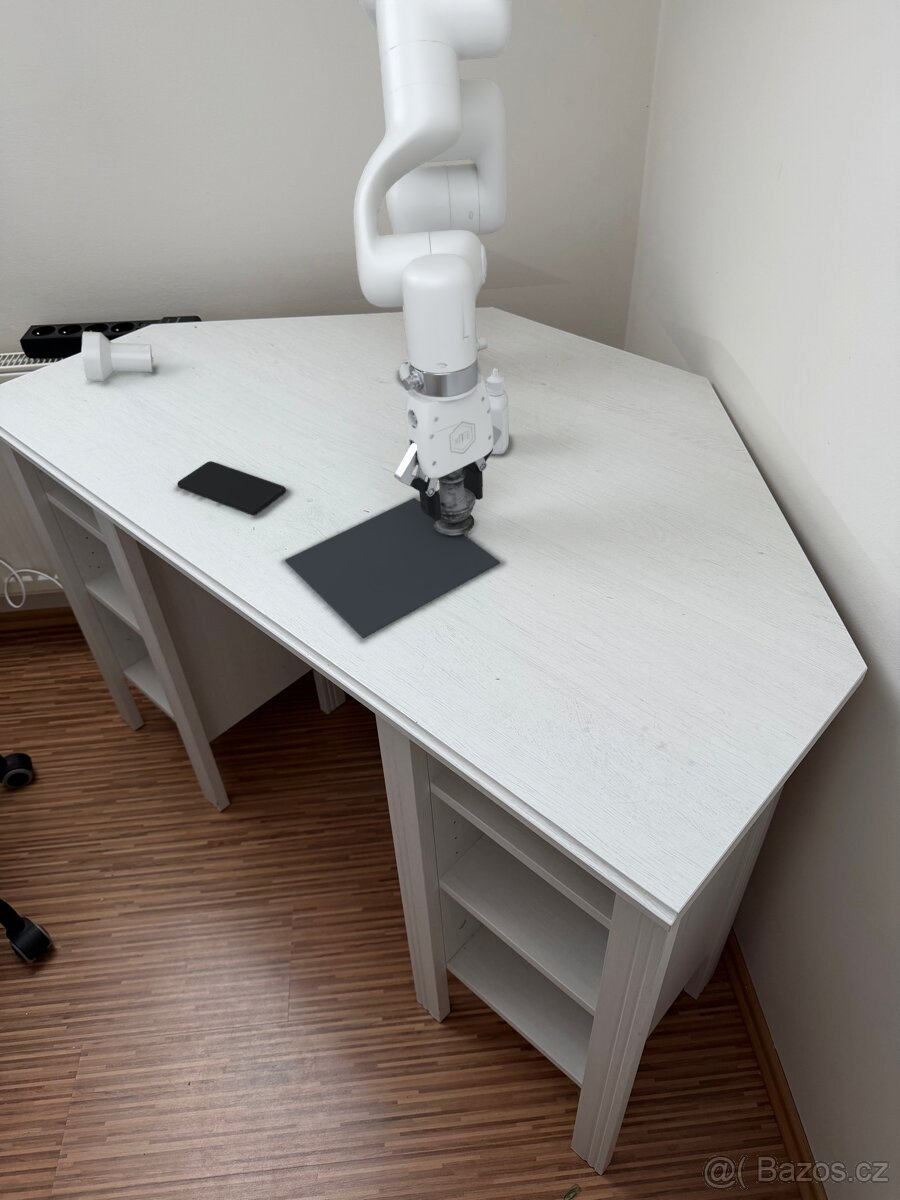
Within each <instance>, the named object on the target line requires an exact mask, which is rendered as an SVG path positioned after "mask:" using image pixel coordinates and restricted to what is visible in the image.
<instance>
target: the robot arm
mask: <svg viewBox="0 0 900 1200" xmlns="http://www.w3.org/2000/svg"><path fill="white" fill-rule="evenodd" d="M357 2H358V4H359V5H360V7H361V9H362V10H361V11H363V13H364V15H365V17H366V19H367V21H368V23H369V25H370V27H371V28H372V31H373V33H374V36H375V38H376V40H377V42H378V46H377V47H378V55H379V66H380V80H381V91H382V103H383V114H384V124H385V131H384V132H385V133H384V136H383V137H382V140H381V142H380V143H379V144H378V146H377V147H376V149H375V150H374V152H373V153H372V155H371V156H370V157H369V160H368V162H367V163H366V164H365V167H364V168H363V171H362V173H361V174H360V178H359V181H358V183H357V187H356V191H355V194H354V201H353V213H352V216H353V217H352V218H353V219H352V220H353V233H354V242H355V243H354V244H355V254H356V255H355V257H356V258H355V259H356V267H357V269H356V270H357V276H358V283H359V286H360V289H361V292H362V294H363V296H364V298H365V299H366V300H367V302H368V303H370V305H372V306H374V307H377V308H401V307H402V316H403V326H404V336H405V347H406V358H407V359H405V360H404V361H403V362H402V363H401V365H400V366H399V369H398V371H399V373H398V374H399V378H400V380H401V382H402V386H403V388H404V389H405V390H406V391H407V394H406V403H405V414H404V415H405V418H404V430H405V431H404V432H405V436H404V437H405V449H406V452H405V455H404V456H403V458H402V460H401V462H400V464H399V465H398V467H397V468H396V471H395V473H394V478H395V480H397V481H398V482H400V483H401V484H403V485H406V486H408V487H411V488H413V489H414V490H416V491H418V492H419V493H418V494H419V495H418V496H419V502H420V505H421V510H422V511H423V513H425V514H426V515H428V516H430V517H431V518H432V519H434V520H435V521H438V520H440V519H441V507H440V495H439V493H438V492H436V491H437V486H438V483H439V480H438V478H440V477H443V476H445V475H447V474H449V473H451V472H453V471H456V470H458V469H460V468H462V469H463V470H464V471H465V473H466V475H465V478H464V479H463V482H464V488H466V489H468V490H470V491H471V492H472V493H473V494H474V495H475V497H476V500H479V501H480V500H482V499H483V497H484V491H483V489H484V488H483V487H484V478H483V477H484V476H483V472H484V471H485V470H486V469H487V468H488V467H487V466H488V463H487V461H488V459H489V457H490V456H491V455H492V454H491V453H492V451H493V445H495V444H496V442H497V441H498V439H499V437H500V436H501V431H500V430H499V429H497V428H496V427H495V426H493V422H492V414H491V406H490V401H489V396H488V392H487V383H486V381H485V379H484V376H483V375H482V374H480V373H479V366H478V364H479V363H478V352H481V351H482V350H486V349H487V348H488V347H489V346H488V345H489V343H488V340H487V337H485V336H481V337H479V338H478V337H477V313H476V312H477V309H476V302H477V301H476V300H477V298H478V296H479V294H480V291H481V289H482V286H483V285H485V283H486V280H487V273H488V271H487V270H488V258H487V250H486V247H485V245H484V244H483V243H482V241H481V239H480V238H479V236H484V235H490V234H494V233H496V232H498V231H499V230H500V229H501V228H502V227H503V225H504V223H505V220H506V215H507V208H508V207H507V203H508V179H507V178H508V171H507V170H508V145H507V144H508V142H507V141H508V140H507V139H508V137H507V136H508V132H507V131H508V129H507V111H506V110H507V109H506V103H505V99H504V95H503V91H502V90H501V88H500V87H499V85H498V84H497V83H496V82H494V81H493V80H491V79H490V78H489V79H488V78H483V77H472V78H471V77H470V78H460V65H459V62H460V61H468V60H480V59H481V60H484V59H494V58H498V57H500V56H502V55H503V54H504V53H505V52H506V50H507V49H508V47H509V45H510V41H511V37H512V30H513V0H357ZM464 160H470V161H472V162H471V163H460V164H449V165H448V164H447V165H446V164H442V165H430V166H429V165H428V166H423V164H426V163H439V162H452V161H464ZM384 198H385V205H386V210H387V215H388V219H389V223H390V227H391V232H392V233H391V234H381V233H380V229H379V214H380V209H381V205H382V202H383V200H384ZM416 467H417V469H416ZM415 469H416V473H415V475H414V474H413V472H414V470H415ZM426 479H427V480H426Z"/></svg>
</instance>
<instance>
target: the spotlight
mask: <svg viewBox="0 0 900 1200" xmlns="http://www.w3.org/2000/svg"><path fill="white" fill-rule="evenodd" d="M81 336H82V337H81V350H80V352H81V353H80V355H81V362H82V366H83V369H84V374H85V378H86V381H98V382H99V381H100V382H104V381H106V380H107V379H108V378H109V377H110V376H111V374H113V372H126V373H129V372H130V373H153V372H154V371H153V369H154V367H153V366H154V357H153V349H152V344H151V343H128V342H127V343H125V342H124V343H123V342H112V341H111V340H110V339H109V338H108V337H106V335H104V334H103V333H102V332H101V331H100V332H98V331H83V332H82V335H81Z"/></svg>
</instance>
